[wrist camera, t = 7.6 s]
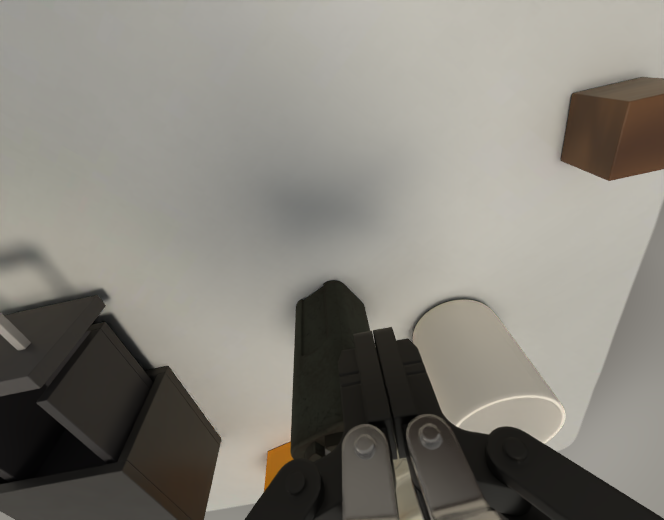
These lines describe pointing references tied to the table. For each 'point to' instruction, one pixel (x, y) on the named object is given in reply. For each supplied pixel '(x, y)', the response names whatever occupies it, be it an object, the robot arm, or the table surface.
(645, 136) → the block
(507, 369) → the mug
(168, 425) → the fryer
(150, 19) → the table surface
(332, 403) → the candle
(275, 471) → the orange juice
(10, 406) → the basket
